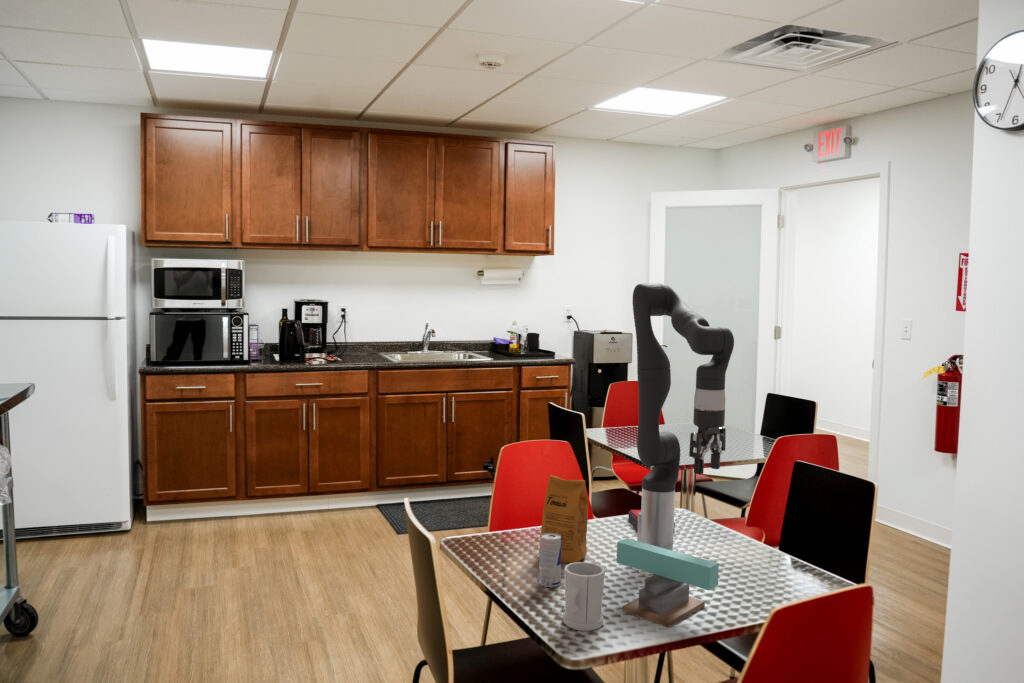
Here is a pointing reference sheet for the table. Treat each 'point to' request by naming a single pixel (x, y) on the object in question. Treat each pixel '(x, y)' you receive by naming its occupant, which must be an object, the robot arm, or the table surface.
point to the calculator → (635, 517)
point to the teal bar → (668, 563)
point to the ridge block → (663, 601)
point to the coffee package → (567, 516)
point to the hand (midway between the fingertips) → (706, 471)
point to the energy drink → (550, 560)
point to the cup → (583, 596)
